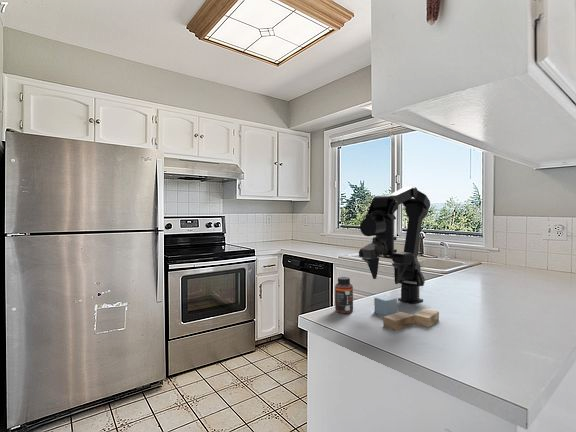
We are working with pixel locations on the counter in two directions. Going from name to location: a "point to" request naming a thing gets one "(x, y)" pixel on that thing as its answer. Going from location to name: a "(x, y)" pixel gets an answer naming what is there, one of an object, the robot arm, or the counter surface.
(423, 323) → the brick
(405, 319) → the base brick
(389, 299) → the cube
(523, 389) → the counter surface
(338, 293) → the supplement bottle
